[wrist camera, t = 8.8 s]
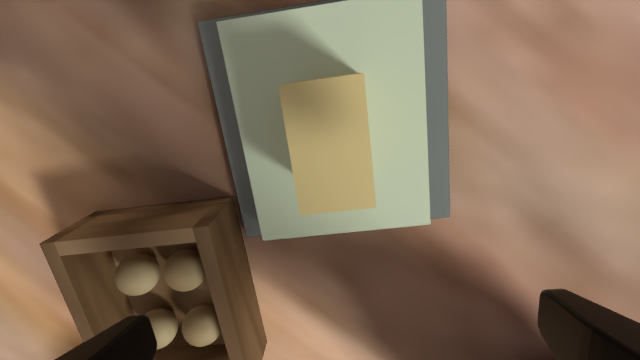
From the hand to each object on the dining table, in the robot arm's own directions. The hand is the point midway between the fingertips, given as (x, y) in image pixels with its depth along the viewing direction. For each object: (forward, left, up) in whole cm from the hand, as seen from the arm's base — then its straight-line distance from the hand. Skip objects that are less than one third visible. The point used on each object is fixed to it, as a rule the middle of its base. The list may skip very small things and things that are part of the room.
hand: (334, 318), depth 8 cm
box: (+11, +6, -12) cm, 17 cm away
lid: (0, -3, -11) cm, 11 cm away
